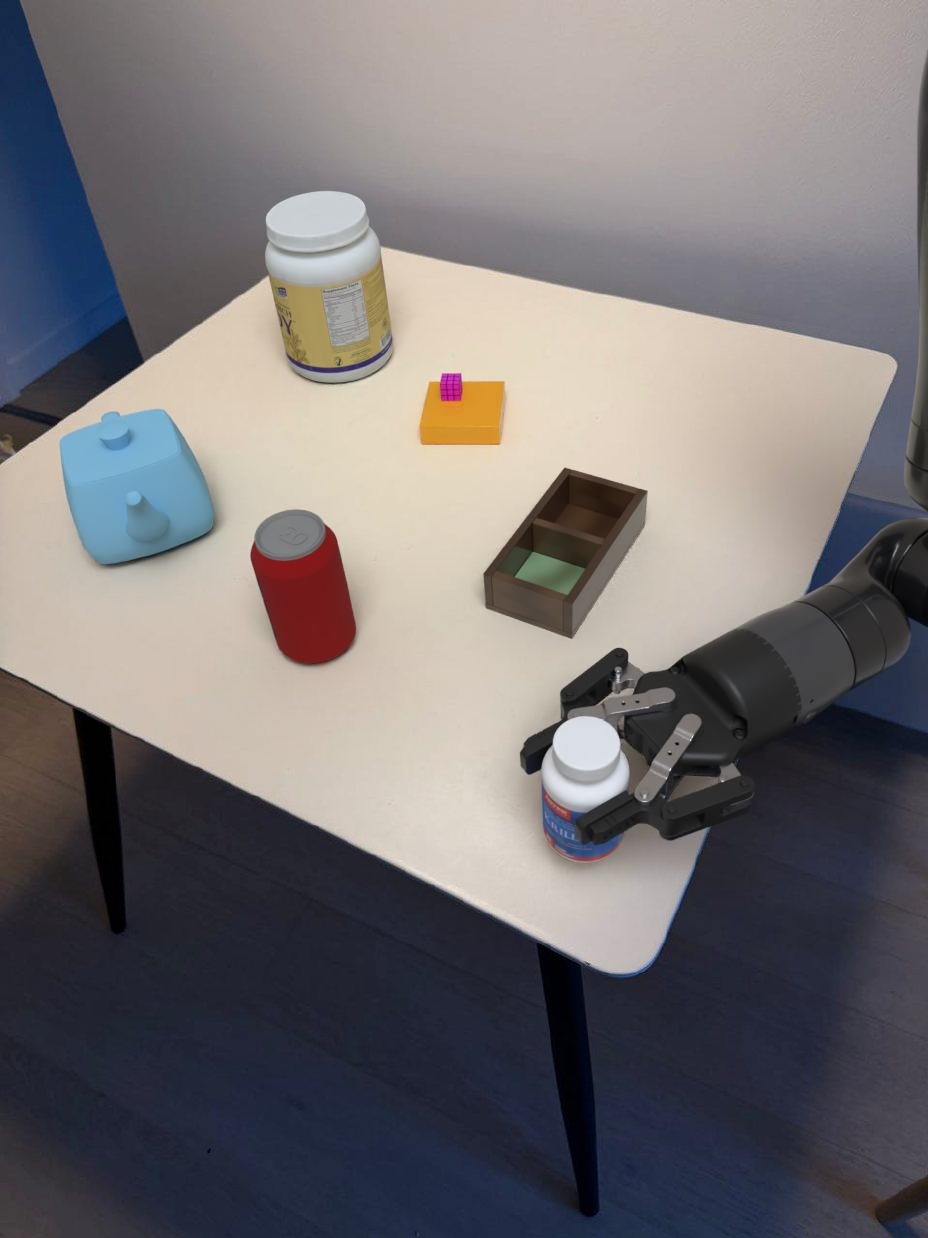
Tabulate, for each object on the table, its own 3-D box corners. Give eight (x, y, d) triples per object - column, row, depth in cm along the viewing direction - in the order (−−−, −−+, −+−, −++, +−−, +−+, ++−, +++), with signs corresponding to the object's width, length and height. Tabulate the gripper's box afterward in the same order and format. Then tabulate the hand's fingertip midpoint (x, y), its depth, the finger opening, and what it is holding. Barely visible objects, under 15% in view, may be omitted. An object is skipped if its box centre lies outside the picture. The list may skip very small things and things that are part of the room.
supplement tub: (275, 347, 115) (241, 204, 103) (372, 318, 118) (350, 176, 106) (308, 400, 108) (276, 251, 95) (411, 367, 111) (392, 219, 98)
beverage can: (314, 599, 86) (287, 492, 78) (374, 629, 83) (352, 522, 75) (261, 648, 83) (226, 542, 74) (321, 682, 80) (292, 575, 71)
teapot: (103, 618, 87) (55, 519, 78) (75, 501, 98) (31, 403, 90) (240, 573, 89) (207, 472, 81) (197, 464, 101) (165, 366, 93)
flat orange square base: (505, 398, 105) (503, 363, 102) (500, 444, 100) (498, 409, 97) (431, 399, 106) (427, 364, 103) (421, 444, 101) (417, 409, 98)
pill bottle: (531, 852, 65) (525, 765, 58) (557, 786, 68) (554, 696, 61) (613, 876, 63) (616, 789, 56) (635, 808, 66) (641, 718, 59)
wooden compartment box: (645, 525, 90) (647, 490, 87) (572, 639, 81) (572, 604, 78) (564, 501, 93) (564, 466, 90) (485, 608, 84) (482, 573, 81)
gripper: (697, 575, 67) (484, 683, 62) (856, 714, 58) (623, 853, 53) (688, 649, 73) (492, 753, 68) (832, 786, 64) (618, 919, 59)
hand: (551, 797), depth 60 cm, fingers closed on pill bottle, 5 cm apart
